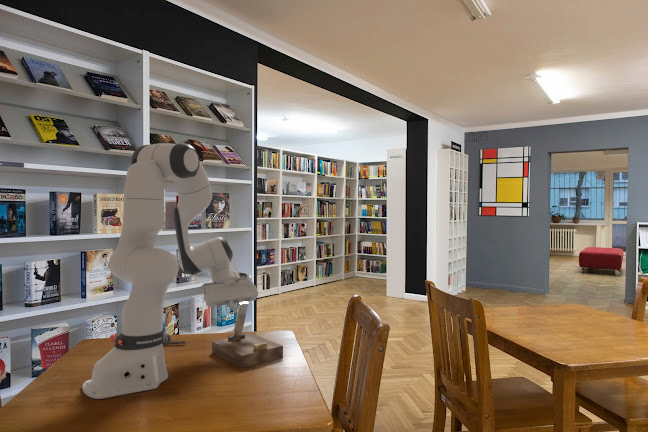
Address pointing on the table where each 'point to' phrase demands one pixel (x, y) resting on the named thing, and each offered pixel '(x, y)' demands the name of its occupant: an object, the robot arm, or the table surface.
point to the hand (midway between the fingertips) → (239, 312)
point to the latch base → (247, 350)
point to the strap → (240, 320)
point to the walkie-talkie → (167, 338)
